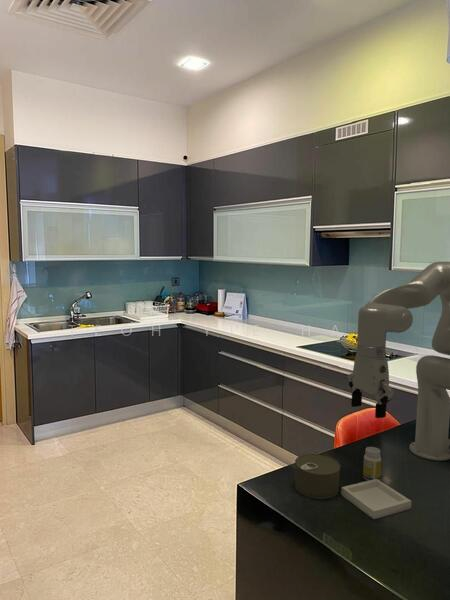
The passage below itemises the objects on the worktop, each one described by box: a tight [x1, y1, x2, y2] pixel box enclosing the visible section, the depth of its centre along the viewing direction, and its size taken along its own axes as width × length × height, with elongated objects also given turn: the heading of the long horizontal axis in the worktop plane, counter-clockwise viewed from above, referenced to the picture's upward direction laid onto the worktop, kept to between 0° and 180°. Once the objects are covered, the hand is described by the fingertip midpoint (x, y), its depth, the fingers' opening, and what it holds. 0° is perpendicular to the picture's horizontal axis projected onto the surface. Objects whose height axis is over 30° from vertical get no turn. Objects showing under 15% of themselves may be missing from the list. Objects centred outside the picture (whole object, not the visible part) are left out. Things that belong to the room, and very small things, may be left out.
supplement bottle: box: [362, 446, 382, 481], centre depth 126 cm, size 5×5×8 cm
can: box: [294, 453, 341, 500], centre depth 120 cm, size 12×12×7 cm
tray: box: [340, 479, 412, 520], centre depth 114 cm, size 12×12×2 cm
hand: (367, 411), depth 124 cm, fingers open, 9 cm apart
